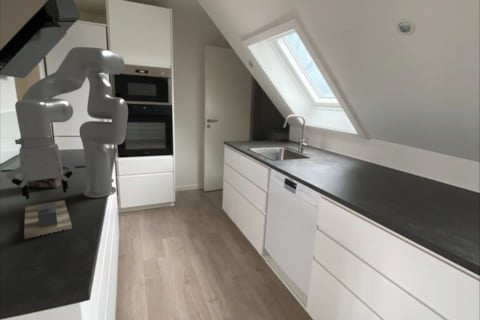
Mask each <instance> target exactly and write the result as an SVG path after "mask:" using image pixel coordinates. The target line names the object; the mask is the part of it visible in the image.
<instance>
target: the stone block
mask: <svg viewBox="0 0 480 320" xmlns="http://www.w3.org/2000/svg"><path fill="white" fill-rule="evenodd" d="M54 144H55V145H56V146H57V148H58V151H59V145H58V144H57V143H54ZM21 147H22V145H20V148H21ZM59 152H60V151H59ZM26 185H27V187H28V189H31V188H33V189H35V188H36V189H38V188H40V189H42V188H43V189H45V188H47V189H48V188H49V189H50V188H51V189H53V188H58V187H60V186H62V181H61V178H60V177H57V178H50V179H44V180H36V181H28V182H27V184H26Z"/></svg>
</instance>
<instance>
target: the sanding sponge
mask: <svg viewBox="0 0 480 320" xmlns="http://www.w3.org/2000/svg"><path fill="white" fill-rule="evenodd" d="M37 207H38V219H39V226H40V230H42V229H47V228H52V227H57V226H58V225H57V217H56V210H55V205H54V203H52V204H46V205H40V206H37Z"/></svg>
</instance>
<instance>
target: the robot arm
mask: <svg viewBox="0 0 480 320" xmlns="http://www.w3.org/2000/svg"><path fill="white" fill-rule="evenodd" d="M125 65H126V64H125V60H124V58H123V56H122V55H121V54H120V53H118V52H116V51H112V50H109V49H106V48H101V47H92V46H91V47H88V46H86V47H85V46H75V47H72V48H70V49H69V51H68V52H67V54H66V55H65V57H64V58H63V60H62V62H61V64H59V67H58V68H57V70H56V71H55V72H53V73H50V74H48V75H47V76H45V77H43V78H41V79H40V80H38V81H36V82H34V83H33V84H32V85H31V86H29V88H27V90H26V91H25V93H24V94H23V95H22V98H21V100H17V101H16V102H15V103H14V107H15V113H16V119H17V125H18V128H19V129H18V130H19V133H20V137H19V139H14V143H15V145H20V147H19V150H18V151H19V156H18V157H19V165H20V166H18V167H16V168H14V169H12V170H10V171H9V172H6V173H5V175H6V178H7V179H8V180H9V181H11V183H12V184H13V185H16V186H18V187H19V188H21V189H20V190H21V194H22V197H25V199H26V200H29V199H30V193H29V186H28V184H27V182H28V181H36V180H44V179H50V178H57V177H60V180H61V186H62V187H61V188H62V191H63V193H67V190H68V189H69V185H68V181H69V178H71V176H72V175H73V173H74V172H75V170H76V165H75V164H72V163H68V162H65V161H62V159H61V155H60V151H58V150H59V147H58V148H57V146H56V145H55V144H56V143H54V139H53V133H52V126H51V123H52V124H53V123H65V122H67V121H69V120H70V119H71V118H72V116H73V114H74V109H73V105H72V104H71V103H70V102H69V101H68V100H65V99H64V98H63V99H62V98H54V97H57V96H61V95H65V94H69V93H72V92H74V91H77V90H79V89H81V88H82V87H83V85H84V84H85V81H86V79H88V82H89V91H88V99H87V106H86V107H87V109H86V112H87V115H88V116H89V117H90V118H92V119H96V120H90V121H89V120H88V121H85V122H83V123H81V125H80V126H79V137H80V140H81V144H82V146H83V147H82V148H83V153H84V154H83V155H84V165H85V173H86V174H85V175H86V184H87V186H86V187H87V189H85V190H84V191H83V196H84V197H87V198H92V199H94V198H96V199H98V198H106V197H109V196H112V195H114V194H115V193H116V192H117V188H116V187H115V186H113V182H114V181H115V180H114V178H112V170H111V169H112V168H111V167H112V166H111V154H110V151H109V149H108V147H107V146H106V145H113V146H119V145H122V144H123V143H124V142H125V140H126V136H127V135H126V134H127V127H128V118H129V108H128V104H127V101H126V100H125V99H123V98H122V97H117V96H112V95H113V94H112V91H113V88H112V85H111V83H110V81H109V79H108V78H107V77H106V76H105V74H106V75H120V74H122V73H123V72H124V70H125ZM98 120H99V121H98ZM101 120H103V121H101ZM104 120H110V121H104ZM21 146H22V147H21ZM63 167H64V168H67V169H68V170H67V172H66V173H64V170H63ZM19 173H20V174H21V177H22V179H19V178H17V177H16V176H15V175H18V174H19Z"/></svg>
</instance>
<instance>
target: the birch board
mask: <svg viewBox="0 0 480 320" xmlns="http://www.w3.org/2000/svg"><path fill="white" fill-rule="evenodd" d="M52 203H54V205H55V210H56V217H57V225H58V226H57V227H52V228H47V229H42V230H40V226H39V219H38V207H37V206H40V205H46V204H52ZM23 226H24V229H23V230H24V231H23V234H24V235H23V236H24V240H27V239H31V238H36V237H40V235H41V236H44V235H45V234H46V235H49V233H50V234H54V232H55V233H59V232H63V231H62V230H64V231H68V230H72V229H73V225H72V221H71V217H70V215H69V211H68V209H67V205H66V200H64V199H63V200H55V201H51V202H43V203H38V204H33V205H32V204H31V205H26V206H25V207H24V225H23ZM58 231H59V232H58ZM46 235H45V236H46Z"/></svg>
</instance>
